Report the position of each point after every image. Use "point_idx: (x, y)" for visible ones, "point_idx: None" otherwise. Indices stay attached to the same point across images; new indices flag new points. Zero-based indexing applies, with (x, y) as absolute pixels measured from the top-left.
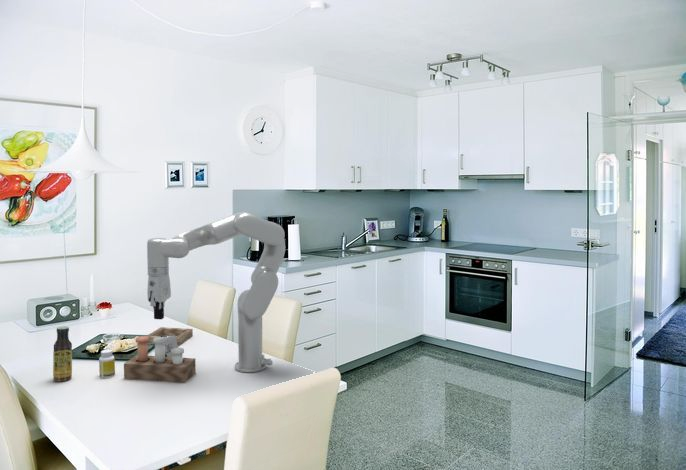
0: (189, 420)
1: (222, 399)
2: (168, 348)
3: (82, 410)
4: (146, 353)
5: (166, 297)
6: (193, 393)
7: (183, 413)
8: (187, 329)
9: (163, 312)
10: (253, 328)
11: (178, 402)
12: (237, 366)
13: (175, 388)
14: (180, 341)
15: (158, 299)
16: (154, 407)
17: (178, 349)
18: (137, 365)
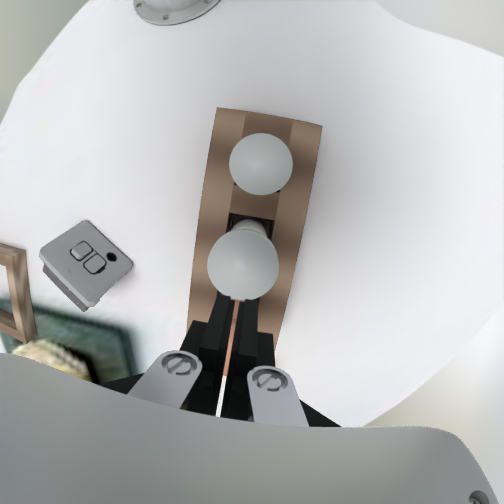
0: (493, 108)
1: (408, 36)
2: (87, 256)
3: (439, 334)
4: (242, 301)
5: (162, 444)
6: (384, 99)
7: (474, 119)
8: None
9: (219, 321)
10: None
11: (433, 133)
12: (191, 10)
13: (352, 154)
14: (11, 250)
15: (476, 466)
16: (454, 187)
17: (258, 159)
18: (285, 306)
